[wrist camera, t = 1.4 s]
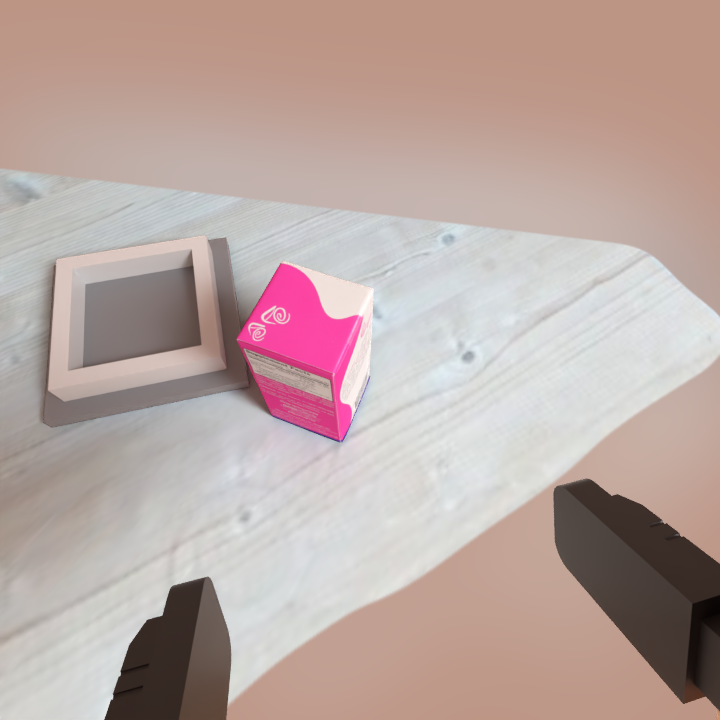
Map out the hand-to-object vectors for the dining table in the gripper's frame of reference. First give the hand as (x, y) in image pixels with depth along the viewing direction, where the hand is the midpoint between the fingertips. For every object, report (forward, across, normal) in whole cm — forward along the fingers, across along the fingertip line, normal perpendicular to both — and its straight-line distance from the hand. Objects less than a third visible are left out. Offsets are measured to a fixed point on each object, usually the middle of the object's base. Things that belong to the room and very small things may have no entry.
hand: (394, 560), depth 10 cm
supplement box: (+24, 0, +5) cm, 24 cm away
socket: (+30, +12, -1) cm, 32 cm away
